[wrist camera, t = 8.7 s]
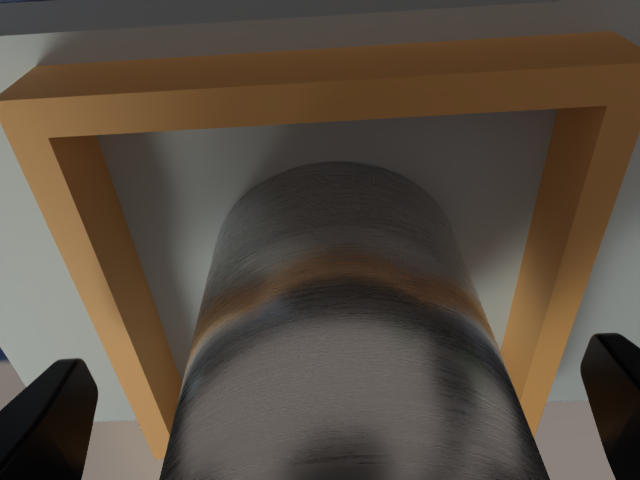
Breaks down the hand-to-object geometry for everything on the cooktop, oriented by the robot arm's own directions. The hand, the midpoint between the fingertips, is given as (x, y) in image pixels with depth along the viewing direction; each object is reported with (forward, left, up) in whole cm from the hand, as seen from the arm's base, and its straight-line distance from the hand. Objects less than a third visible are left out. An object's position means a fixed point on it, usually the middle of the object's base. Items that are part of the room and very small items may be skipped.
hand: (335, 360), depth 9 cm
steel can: (0, 0, -2) cm, 3 cm away
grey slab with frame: (0, 0, -5) cm, 5 cm away
